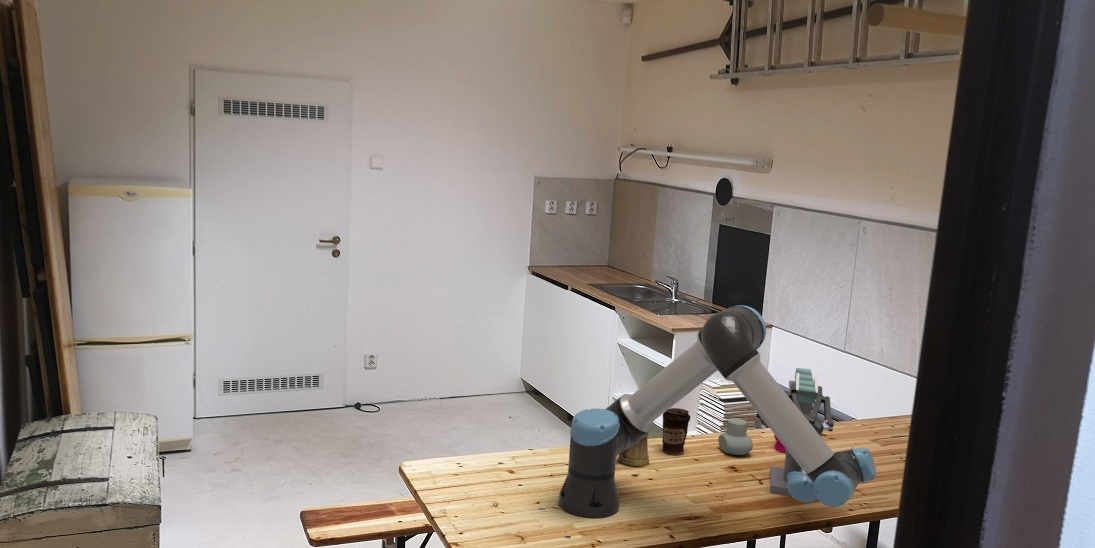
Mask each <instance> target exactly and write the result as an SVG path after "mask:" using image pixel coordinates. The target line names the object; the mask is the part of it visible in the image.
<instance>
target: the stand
mask: <svg viewBox="0 0 1095 548" xmlns="http://www.w3.org/2000/svg"><path fill="white" fill-rule="evenodd" d="M792 383H795V380H791V379H790V380H788V390H789V389H790V391H791V384H792ZM799 406H800V409H801V411H802V413H804V414H811V413H812V410H813V404H812V403H805V402H799ZM788 464H789V452H788V450H787V449H786V453H785V458H784V464H783V465H784V466H783V467H780V466H772V465H770V469H769V490H770V491H769V493H770V494H775V495H776V494H777V495H781V496H788V497H792V496H791V495H790V494H789V491H788V482H787V475H788ZM817 500H818V499H816V500H815V501H817Z"/></svg>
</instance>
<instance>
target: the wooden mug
mask: <svg viewBox="0 0 1095 548" xmlns="http://www.w3.org/2000/svg"><path fill="white" fill-rule="evenodd" d="M648 436H649V433H647V434H646V435H645V436H644V437H643V438H642V439H641V440H640V441H639V442H638V443H637V444H636V445H634V446H632V447H630V448H628V449H627V450H625V451H624V452H622V453H620V454H619V455H618V456H617V457H618V458H617V460H618V461H619V463H620V462H621V463H620V464H622V463H623V464H622V465H624V464H625V465H624V466H627V465H629V466H628V467H632V466H638V467H637V468H640V467H639V466H643V467H645V465H646V466H647V465H649V464H650V456H649V451H648V450H649V449H648V445H649V443H648Z"/></svg>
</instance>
